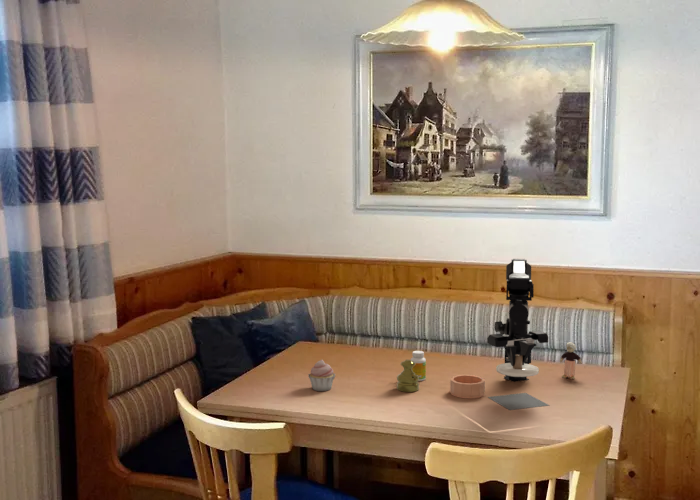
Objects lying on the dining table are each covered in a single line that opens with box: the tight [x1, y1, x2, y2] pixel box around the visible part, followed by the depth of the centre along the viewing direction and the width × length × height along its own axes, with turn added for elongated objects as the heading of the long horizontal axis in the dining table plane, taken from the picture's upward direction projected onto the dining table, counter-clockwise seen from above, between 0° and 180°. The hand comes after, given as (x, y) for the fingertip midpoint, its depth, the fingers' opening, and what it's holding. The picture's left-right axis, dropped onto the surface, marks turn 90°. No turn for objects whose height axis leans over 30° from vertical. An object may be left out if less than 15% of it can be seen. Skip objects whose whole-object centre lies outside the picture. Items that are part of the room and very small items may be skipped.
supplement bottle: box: [410, 350, 427, 382], centre depth 273 cm, size 5×5×10 cm
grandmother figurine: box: [559, 341, 583, 380], centre depth 273 cm, size 8×4×13 cm, turn 68°
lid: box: [495, 354, 540, 378], centre depth 245 cm, size 13×13×5 cm
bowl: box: [449, 374, 486, 399], centre depth 255 cm, size 11×11×5 cm
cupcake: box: [307, 359, 336, 392], centre depth 262 cm, size 9×9×10 cm
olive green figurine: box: [396, 359, 420, 393], centre depth 261 cm, size 7×7×10 cm
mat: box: [487, 392, 550, 411], centre depth 246 cm, size 14×14×1 cm
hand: (517, 365), depth 245 cm, fingers closed on lid, 3 cm apart
